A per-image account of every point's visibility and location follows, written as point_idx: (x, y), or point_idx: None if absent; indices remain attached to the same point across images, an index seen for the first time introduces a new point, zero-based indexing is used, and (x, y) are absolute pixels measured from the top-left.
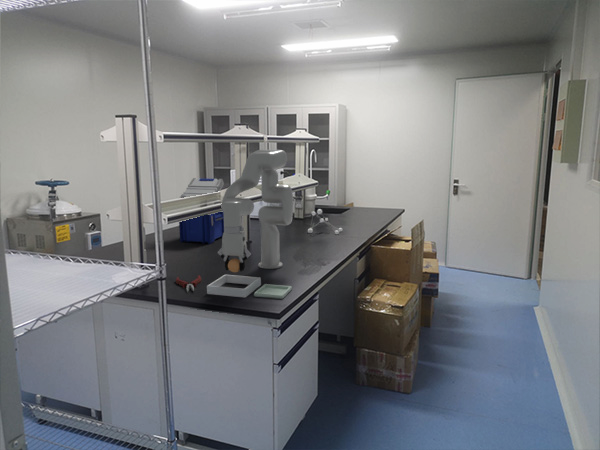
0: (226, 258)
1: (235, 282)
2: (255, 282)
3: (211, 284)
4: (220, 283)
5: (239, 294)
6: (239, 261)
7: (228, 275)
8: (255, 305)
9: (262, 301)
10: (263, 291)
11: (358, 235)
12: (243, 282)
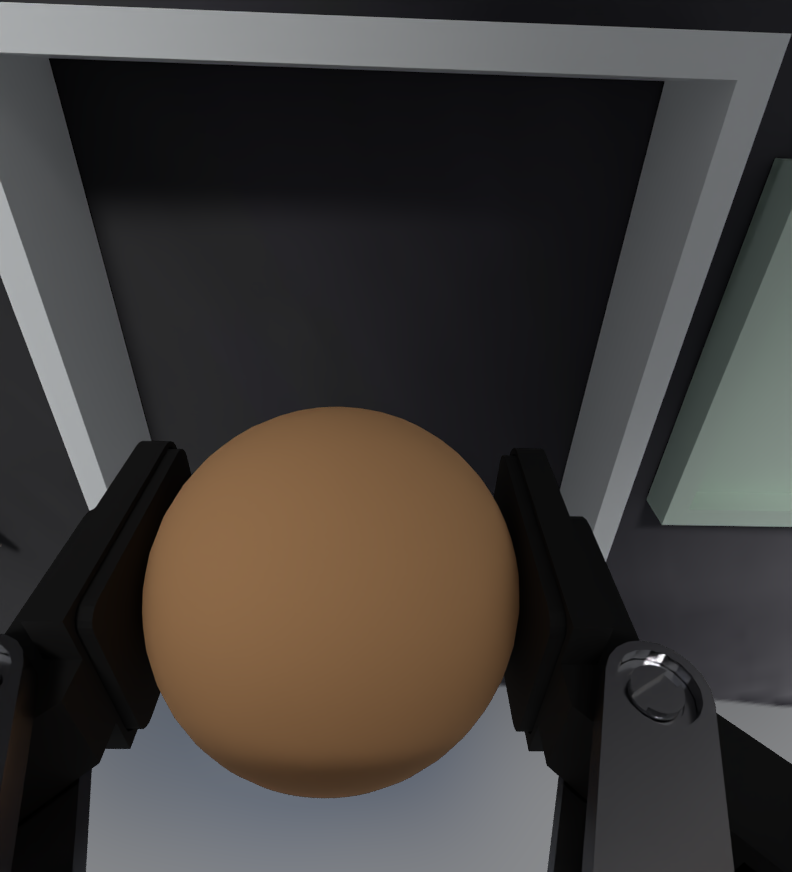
0: (81, 848)
1: (229, 64)
2: (680, 321)
3: None
4: (90, 294)
5: None
6: (490, 692)
7: (23, 52)
8: (677, 646)
9: (734, 580)
10: (754, 380)
11: None
12: (387, 70)
